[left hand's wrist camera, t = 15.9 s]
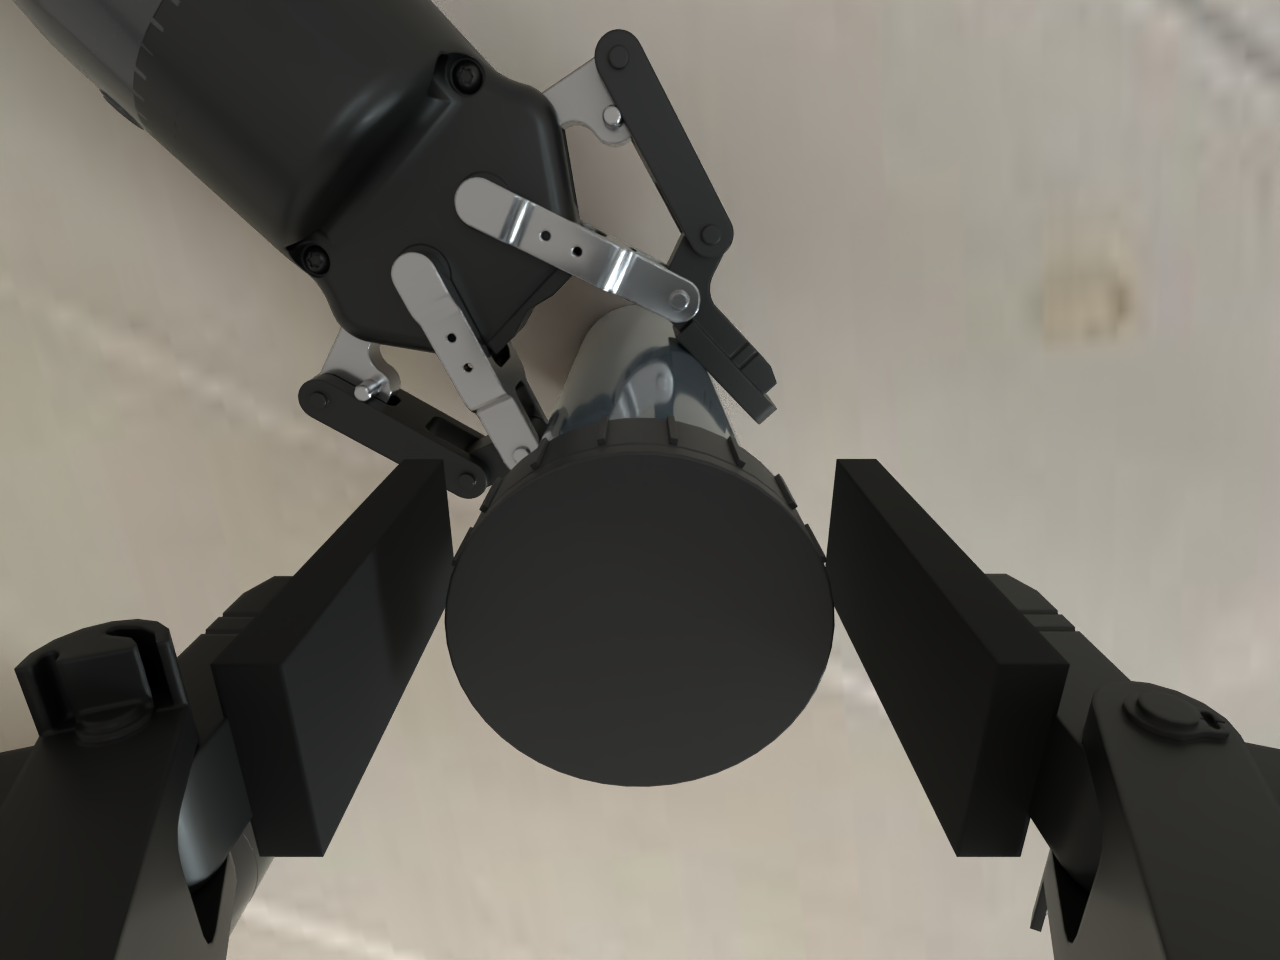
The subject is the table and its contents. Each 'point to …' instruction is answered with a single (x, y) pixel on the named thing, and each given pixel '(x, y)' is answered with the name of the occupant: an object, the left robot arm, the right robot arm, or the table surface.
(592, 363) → the grey cylindrical flask
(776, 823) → the table surface
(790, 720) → the lid
